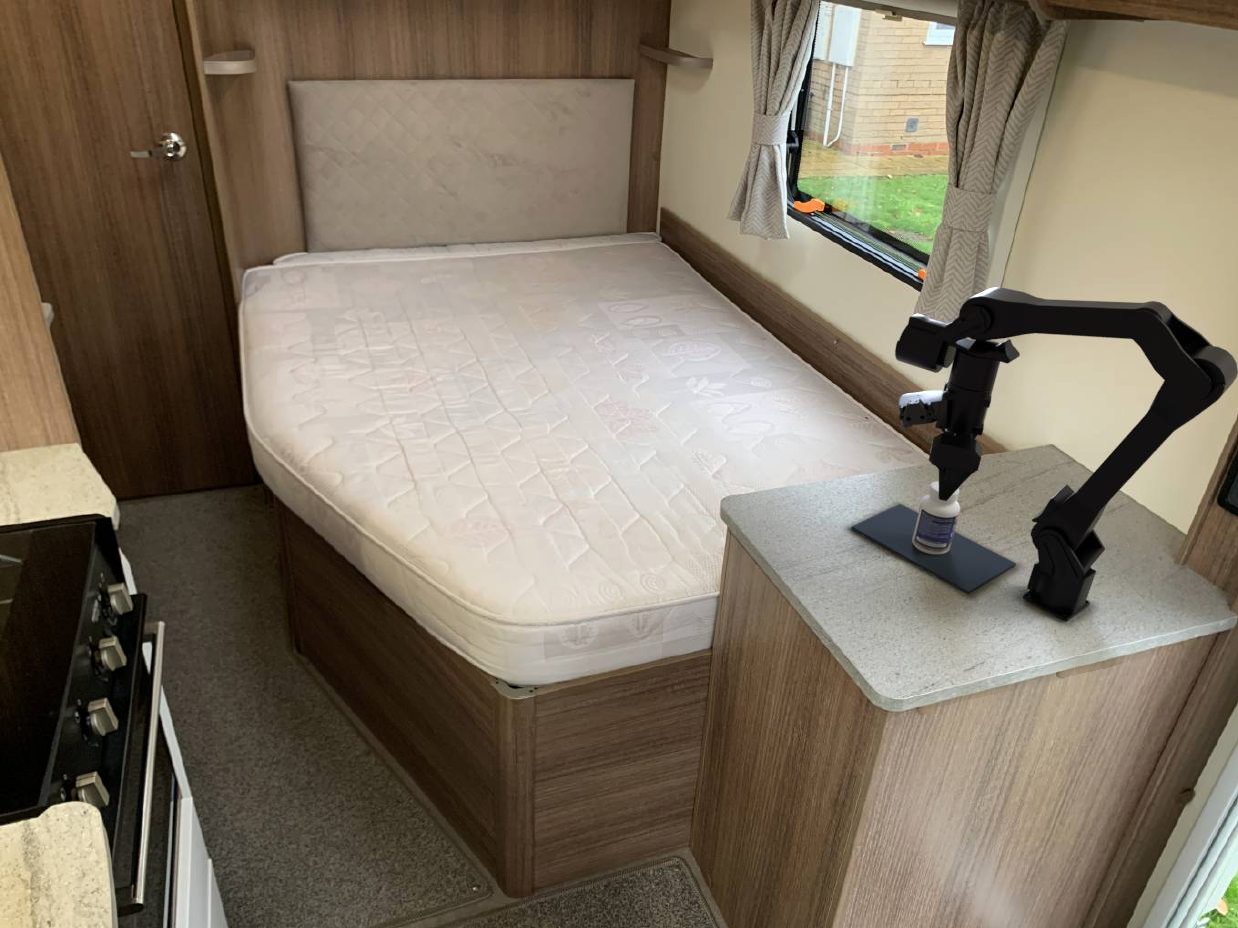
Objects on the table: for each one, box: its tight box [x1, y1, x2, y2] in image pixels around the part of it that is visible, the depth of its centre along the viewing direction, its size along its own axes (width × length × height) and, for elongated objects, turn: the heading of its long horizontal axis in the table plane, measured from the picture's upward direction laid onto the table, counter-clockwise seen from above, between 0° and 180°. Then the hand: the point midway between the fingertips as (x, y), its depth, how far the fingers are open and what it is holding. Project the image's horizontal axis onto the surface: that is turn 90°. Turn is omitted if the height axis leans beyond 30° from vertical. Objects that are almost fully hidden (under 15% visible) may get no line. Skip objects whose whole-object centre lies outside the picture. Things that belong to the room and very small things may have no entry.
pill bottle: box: [912, 480, 961, 555], centre depth 136 cm, size 5×5×10 cm
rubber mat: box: [851, 503, 1017, 595], centre depth 139 cm, size 20×12×1 cm, turn 39°
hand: (944, 484), depth 134 cm, fingers open, 9 cm apart
